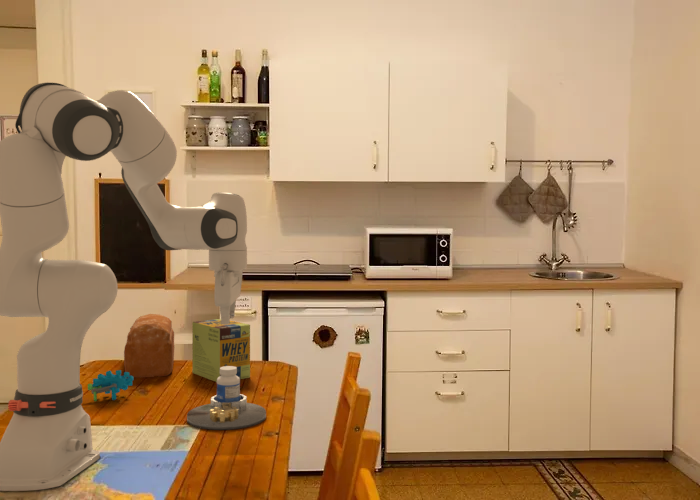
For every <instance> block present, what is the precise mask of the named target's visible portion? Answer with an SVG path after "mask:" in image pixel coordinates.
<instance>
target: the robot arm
mask: <svg viewBox="0 0 700 500" xmlns="http://www.w3.org/2000/svg"><path fill="white" fill-rule="evenodd" d="M14 125H15V129H16V132H17V133H14V134H11V135H8V136H6V137H4V138H2V139H1V140H0V221H1V222H0V223H1V225H0V226H1V232H2V233H1V235H2V236H1V237H2V238H1V244H0V316H2V317H6V318H7V317H8V318H36V317H37V318H48V325H47V328H46V330H45V331H44V332H41V333H39V334H36V335H35V336H33V337H32V338H29V339H28V340H26V341H25V342H24V343H23V344H21V346H20V348H18V349H19V350H18V351H17V354H16V372H17V374H16V376H17V377H16V378H17V379H16V380H17V389H16V390H15V392H14V393H15V394H14V397H13V399H10V400H8V403H7V409H8V411H9V412H13V413H12V414H13V415H12V417H11V419H10V420H9V423H8V425H7V427H6V429H5V431H4V433H3V436H2V438H1V439H0V491H1V492H2V491H5V492H6V491H7V492H18V491H21V492H23V491H38V490H47V489H51V488H57V487H60V486H62V485H64V484H65V483H67V482H68V481H70V480H71V479H72V478H73V477H75V476H77V475H78V474H79V473H81V472H82V471H84V470H85V469H87V468H88V467H90V466H91V465H92V464H94V463H95V462H97V461H98V460H100V458H101V454H100V451H98V450H95V449H93V437H92V425H91V417H90V415H89V413H87V412H86V411H85V410H84V408H83V406H82V404H83V401H84V399H83V396H84V391H83V386H82V384H81V381H80V375H81V374H80V372H81V371H80V370H81V369H80V368H81V367H80V366H81V354H82V353H81V351H82V346H83V342H84V339H85V337H86V334H87V332H88V331H89V329H90V328H91V326H92V325H93V324H94V323H95V321H97V319H99V318H100V317H101V316H102V315H103V314H105V313H106V312H107V311H108V310H110V308H111V307H112V305H113V304H114V303H115V300H116V299H117V297H118V290H119V289H118V288H119V287H118V279H117V278H116V275H115V273H114V272H113V270H112V269H111V267H110V266H109V265H107V264H105V263H101V262H98V261H97V262H96V261H91V260H88V259H87V260H85V259H46V258H44V257H43V254H42V253H43V252H44V251H45V252H46V251H47V250H50V249H52V248H54V247H55V246H57V245H59V244H60V243H61V242H62V241H64V239H65V238H66V236H67V234H68V233H69V230H70V229H69V228H70V222H69V216H68V209H67V208H68V207H67V201H66V195H65V189H64V183H63V180H62V179H63V178H62V173H63V172H62V171H63V169H62V168H63V165H64V162H65V159H66V157H67V158H70V159H73V160H76V161H81V162H82V161H83V162H87V161H89V162H90V161H95V160H98V159H100V158H102V157H103V156H105V155H106V154H107V155H108V153H110V152H111V154H112V155H113V156H114V157H115V159H116V160H117V162H119V164H120V166H121V172H120V173H121V178H122V181H123V184H124V185H125V188H126V189H127V191H128V193H129V195H130V196H131V198H132V199H133V201H134V203H135V204H136V206H137V207H138V209H139V211H140V212H141V214H142V215H143V217H144V219H145V220H146V222H147V224H148V227H149V229H150V233H151V235H152V238H153V240H154V241H155V243H156V244H157V246H159V248H161V249H163V250H165V251H180V250H181V251H182V250H192V251H193V250H194V251H198V250H199V251H200V250H202V251H203V250H206V251H207V250H208V270H209V271H213V272H214V273H213V274H214V275H213V277H214V306H215V307H219V313H220V319H221V324H223V325H227V324H229V322H230V321H231V319H234V318H235V316H236V315H235V310H236V303H237V302H236V301H237V299H238V298H239V297H240V296H241V292H242V283H243V271H245V270H248V246H247V243H246V237H247V232H248V220H247V218H248V217H247V209H246V203H245V199H244V198H243V197H242V196H241V195H239V194H237V193H233V192H222V191H221V192H214V193H212V194H211V198H210V200H208V201H207V202H206V203H205V204H202V205H201V206H178V205H174V204H172V203H170V202H168V201H167V198H166V197H165V196H164V193H163V192H162V190H161V188H160V186H159V185H158V184H159V183H161V182H162V181H163V180H164V179H165V178H166V177H167V176H169V174H170V173H171V172H172V170H173V168H174V167H175V164H176V161H177V156H178V155H177V153H178V151H177V147H176V145H175V141H174V140H173V138H172V137H171V135H170V134H169V133H168V131H167V129H166V128H165V127H164V125H163V124H162V122H161V121H160V120H159V119H158V117H157V116H156V115H155V113H154V112H153V111H152V110H151V109H150V108H149V107H148V105H146V104H145V103H144V102H143V101H142V100H141V98H139V97H138V96H137V95H136V94H134V93H133V92H131V91H130V90H129V91H128V90H123V89H120V90H119V89H117V90H114V91H110V92H108V93H106V94H104V95H103V96H102V97H101V98H99V99H98V100H94V99H93V98H91V97H89V96H87V95H86V94H84V93H83V92H81V91H79V90H76V89H74V88H71V87H69V86H66V85H64V84H61V83H57V82H42V83H38V84H35V85H33V86H31V87H30V88H28V90H27V91H26V92H25V94H24V95H23V98H22V99H21V103H20V107H19V114H18V116H17V119H16V121H15V124H14Z"/></svg>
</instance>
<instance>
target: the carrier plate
mask: <svg viewBox="0 0 700 500" xmlns="http://www.w3.org/2000/svg"><path fill="white" fill-rule="evenodd" d="M247 399H248V397H247V395H244V394H241V393H240V400H239V401H234V402H219V401H217V394H216V395H214V396H211V398H210V403H207V404H203V405H199V406H196V407H193V408H192V409H190V410H189V411H188V412H187V413H186V422H187V424H189V425H191V426H192V427H194V428H197V429H202V430H211V431H230V430H232V431H233V430H240V429H241V430H242V429H246V428H249V427H253V426H256V425H259V424H260V423H263V422H264V421H265V420H266V418H267V410H266V408H264V407H263V406H262V405H259V404H255V403H251V402H247V401H248V400H247Z"/></svg>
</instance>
